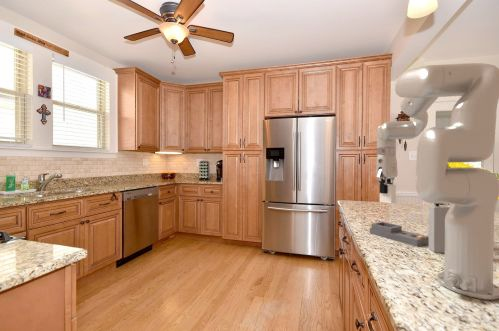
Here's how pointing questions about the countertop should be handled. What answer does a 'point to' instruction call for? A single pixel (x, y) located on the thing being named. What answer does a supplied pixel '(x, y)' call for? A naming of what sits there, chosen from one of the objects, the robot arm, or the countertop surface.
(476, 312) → the countertop surface
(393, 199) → the charger
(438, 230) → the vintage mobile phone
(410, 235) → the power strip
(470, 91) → the robot arm
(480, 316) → the countertop surface
